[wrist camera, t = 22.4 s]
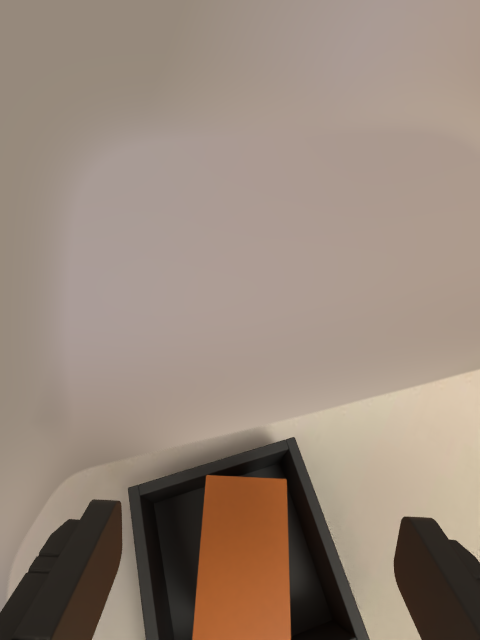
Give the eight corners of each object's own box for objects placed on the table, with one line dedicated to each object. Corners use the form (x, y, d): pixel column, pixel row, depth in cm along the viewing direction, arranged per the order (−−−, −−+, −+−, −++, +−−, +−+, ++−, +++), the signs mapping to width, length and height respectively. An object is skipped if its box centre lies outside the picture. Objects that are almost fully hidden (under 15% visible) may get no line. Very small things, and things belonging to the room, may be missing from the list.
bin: (173, 697, 26) (157, 742, 20) (145, 497, 32) (127, 487, 27) (343, 626, 28) (373, 648, 22) (283, 454, 35) (294, 436, 29)
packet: (203, 626, 27) (188, 676, 17) (213, 496, 32) (206, 474, 22) (268, 629, 27) (292, 681, 17) (268, 498, 32) (286, 478, 22)
